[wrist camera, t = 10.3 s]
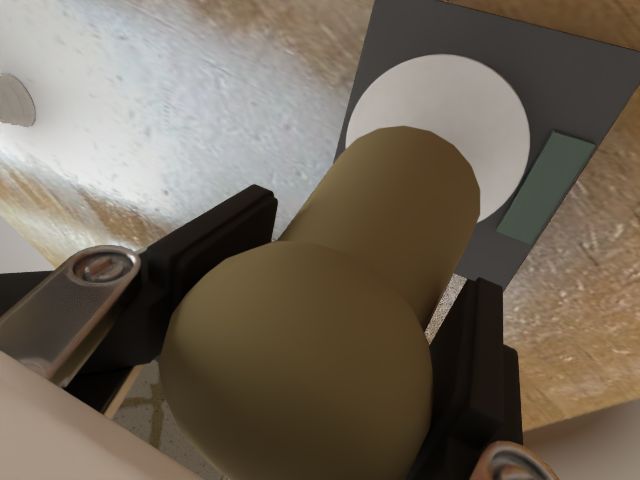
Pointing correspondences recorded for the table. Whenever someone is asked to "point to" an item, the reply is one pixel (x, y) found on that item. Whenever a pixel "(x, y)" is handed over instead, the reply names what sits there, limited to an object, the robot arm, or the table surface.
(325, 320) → the pepper shaker
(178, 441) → the planter
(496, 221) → the scale
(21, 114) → the chalice
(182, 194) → the table surface
